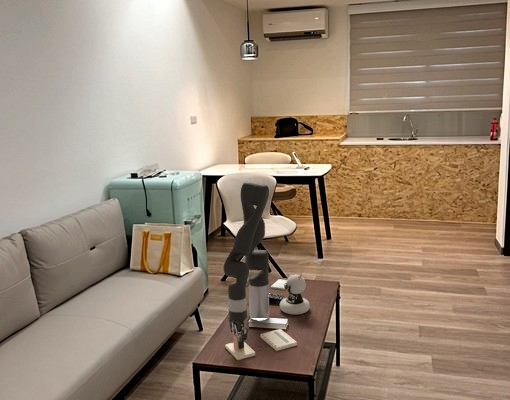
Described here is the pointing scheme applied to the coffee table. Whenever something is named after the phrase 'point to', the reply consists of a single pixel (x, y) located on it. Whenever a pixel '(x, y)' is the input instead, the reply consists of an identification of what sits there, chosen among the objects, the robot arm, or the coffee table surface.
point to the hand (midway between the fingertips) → (238, 345)
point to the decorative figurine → (295, 296)
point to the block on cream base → (237, 352)
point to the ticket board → (278, 339)
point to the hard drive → (279, 284)
